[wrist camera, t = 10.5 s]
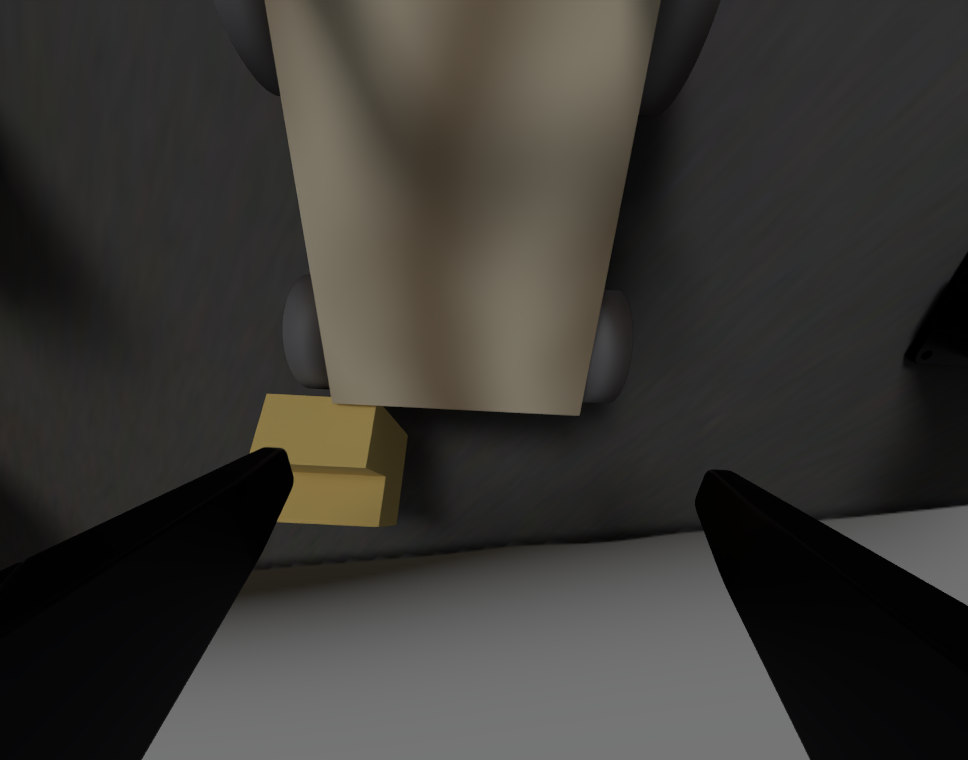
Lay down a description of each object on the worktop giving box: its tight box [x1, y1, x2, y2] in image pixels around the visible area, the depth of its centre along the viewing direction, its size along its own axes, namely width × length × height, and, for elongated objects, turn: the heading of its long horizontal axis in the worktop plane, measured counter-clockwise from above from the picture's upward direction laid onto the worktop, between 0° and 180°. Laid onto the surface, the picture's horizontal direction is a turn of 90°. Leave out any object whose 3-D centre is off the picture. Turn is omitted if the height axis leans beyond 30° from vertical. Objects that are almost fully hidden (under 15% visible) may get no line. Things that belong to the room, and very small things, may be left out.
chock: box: [250, 394, 408, 527], centre depth 17 cm, size 5×7×5 cm
